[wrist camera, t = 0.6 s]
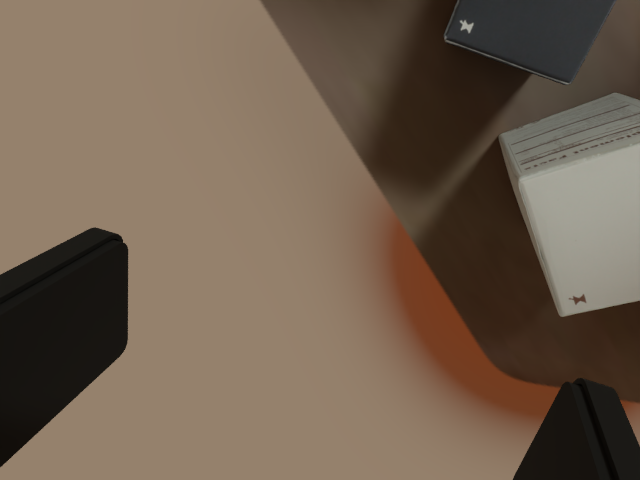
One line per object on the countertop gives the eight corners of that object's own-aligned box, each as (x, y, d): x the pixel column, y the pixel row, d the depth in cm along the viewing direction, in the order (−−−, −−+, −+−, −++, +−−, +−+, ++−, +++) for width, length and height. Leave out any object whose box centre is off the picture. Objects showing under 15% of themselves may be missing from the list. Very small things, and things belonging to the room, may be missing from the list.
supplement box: (643, 197, 31) (746, 286, 20) (525, 228, 34) (556, 323, 23) (618, 87, 29) (716, 118, 18) (494, 131, 32) (513, 180, 21)
